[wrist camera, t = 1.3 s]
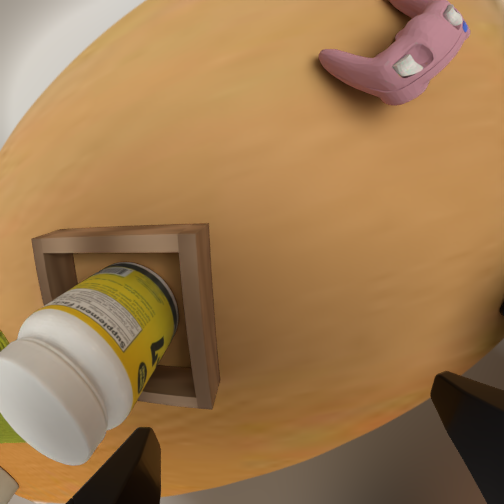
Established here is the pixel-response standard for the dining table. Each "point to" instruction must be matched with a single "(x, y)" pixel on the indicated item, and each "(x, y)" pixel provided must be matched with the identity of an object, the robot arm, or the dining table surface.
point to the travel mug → (6, 486)
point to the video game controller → (404, 53)
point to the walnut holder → (193, 289)
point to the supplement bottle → (86, 360)
